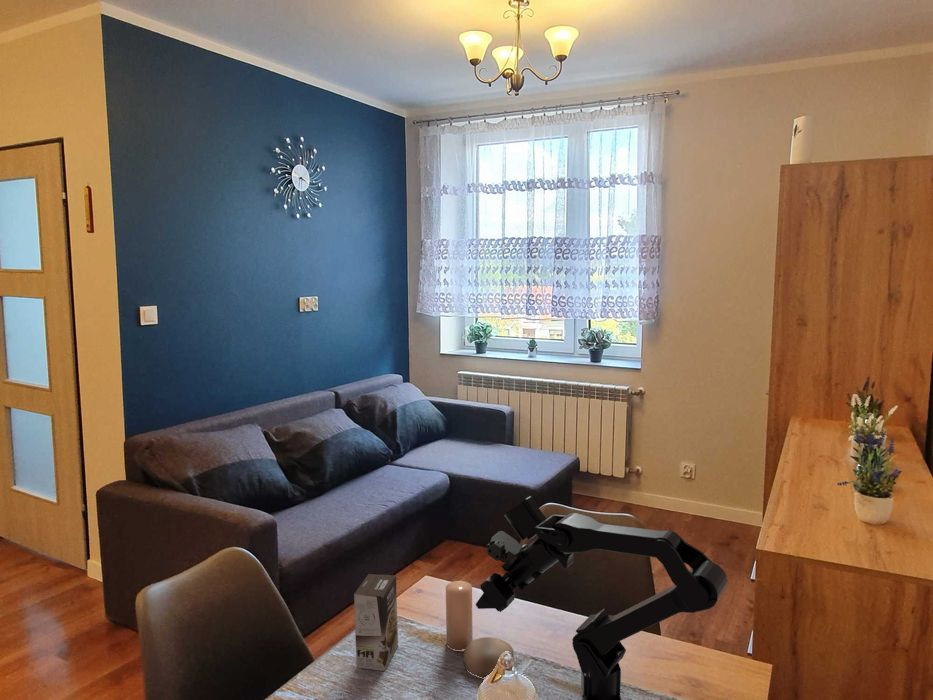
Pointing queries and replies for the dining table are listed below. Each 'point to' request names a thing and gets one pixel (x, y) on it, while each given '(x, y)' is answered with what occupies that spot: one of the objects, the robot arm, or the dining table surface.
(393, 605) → the coffee box
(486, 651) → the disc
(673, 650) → the dining table surface
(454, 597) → the candle
